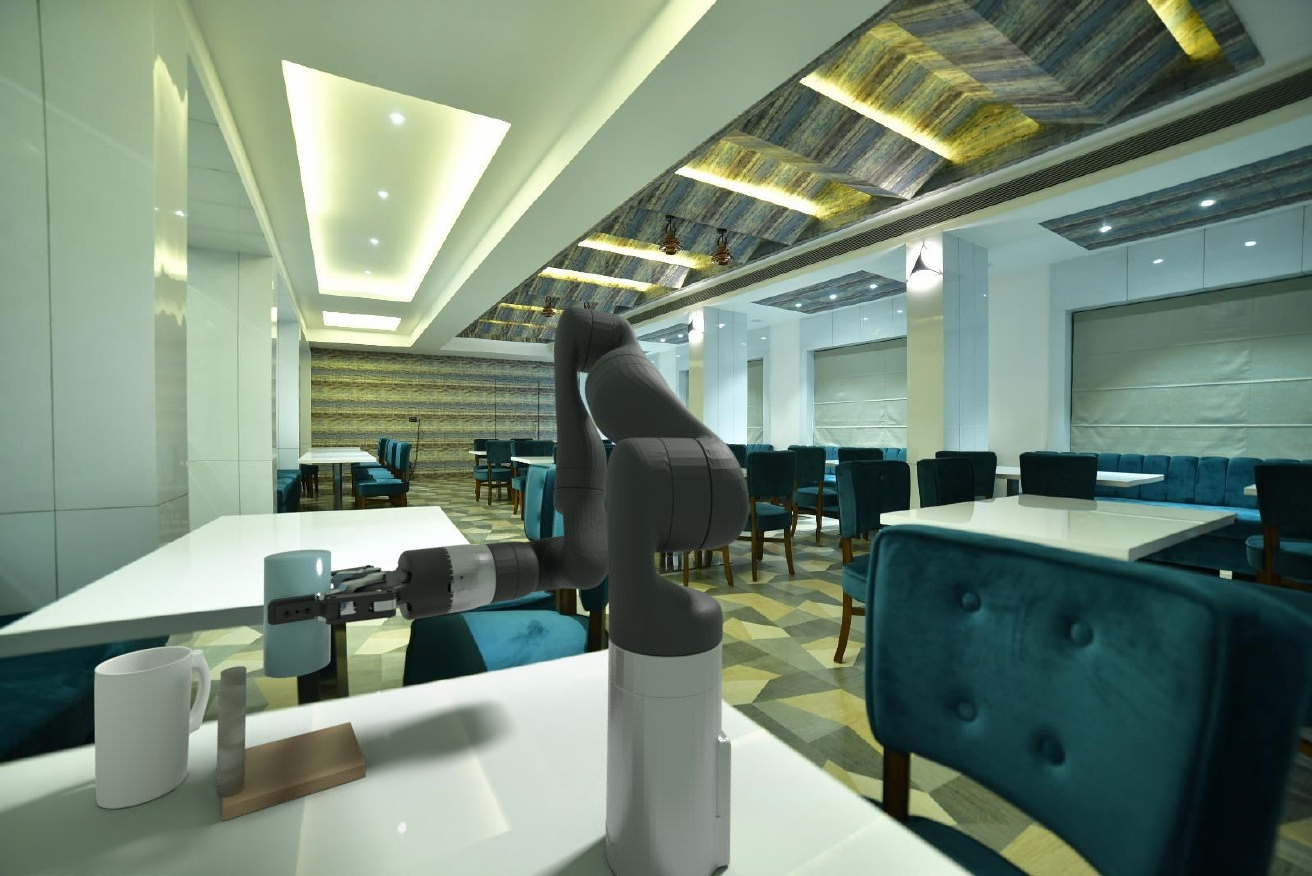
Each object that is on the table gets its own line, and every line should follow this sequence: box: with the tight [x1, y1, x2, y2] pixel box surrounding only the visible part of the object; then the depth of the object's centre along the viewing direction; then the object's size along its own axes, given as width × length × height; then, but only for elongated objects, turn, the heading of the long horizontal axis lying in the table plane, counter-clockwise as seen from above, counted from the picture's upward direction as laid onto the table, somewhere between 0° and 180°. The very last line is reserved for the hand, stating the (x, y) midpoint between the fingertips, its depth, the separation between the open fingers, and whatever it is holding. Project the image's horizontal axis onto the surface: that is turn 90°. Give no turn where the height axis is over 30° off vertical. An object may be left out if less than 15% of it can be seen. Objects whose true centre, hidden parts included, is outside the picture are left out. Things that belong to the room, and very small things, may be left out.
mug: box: [93, 645, 212, 810], centre depth 54 cm, size 10×7×12 cm, turn 174°
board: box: [215, 665, 367, 822], centre depth 55 cm, size 12×10×10 cm
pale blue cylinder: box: [262, 549, 332, 679], centre depth 55 cm, size 6×6×11 cm
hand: (267, 604), depth 54 cm, fingers closed on pale blue cylinder, 5 cm apart
